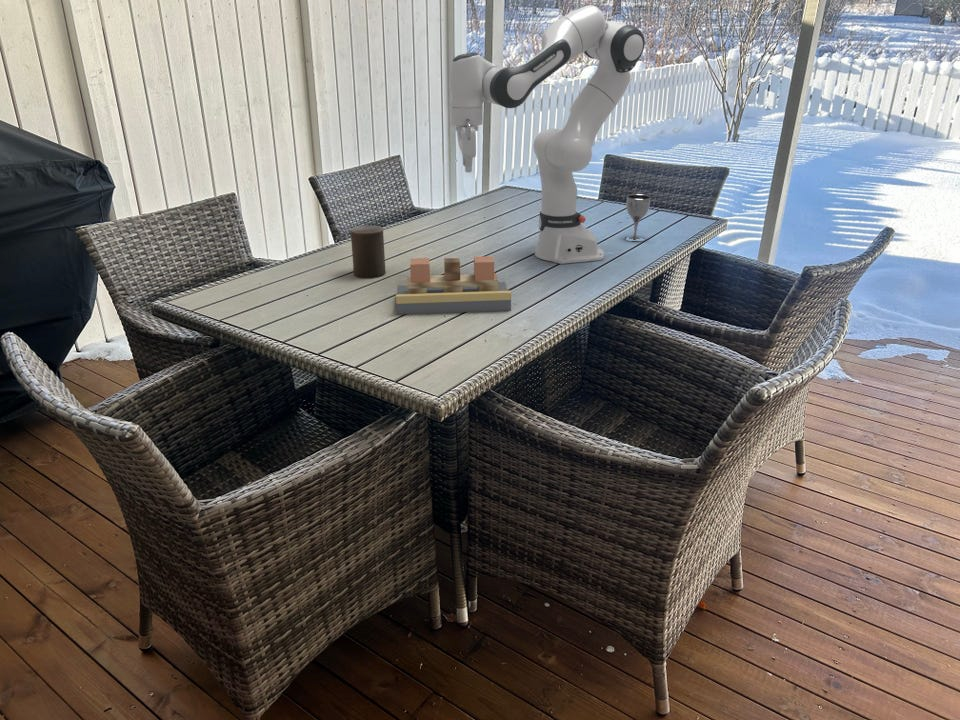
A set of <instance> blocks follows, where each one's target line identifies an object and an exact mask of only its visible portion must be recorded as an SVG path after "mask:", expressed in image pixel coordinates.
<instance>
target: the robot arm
mask: <svg viewBox="0 0 960 720" xmlns="http://www.w3.org/2000/svg"><path fill="white" fill-rule="evenodd" d="M540 41H541V42H540V44H541V45H540V46H541V49H542V50H541V51H540V52H538V53H537V54H536V55H534V56H533V57H531V59H529V60H528V61H526V62H525V63H524V64H521V65H518V66H498V65H497V64H495V63H492V62H490V61H488V60H487V59H485V58H484V57H483V56H482V55H480V53H478V52H469V53H468V52H467V53H462V54H459V55H456V56H455V57H454V58H453V59H452V61H451V66H450V72H449V74H450V77H449V88H450V89H449V90H450V95H451V101H450V125H451V126H455V131H456V135H457V144H458V148H459V149H460V153H461V155H462V166H463V167H464V171H465V173H472V172H473V158H476V157H477V137H476V136H477V133H476V132H478V131H479V126H481V125H483V123H484V122H483V121H484V119H483V116H484V115H483V113H484V112H483V106H484V105H483V104H484V102H486V103H489V104H494V105H498V106H501V107H503V108H507V109H515V108H518V107H520V106H522V105H523V103H525V101H526V100H527V98H528V97H529V95H530V94H531V93H532V91H533V90H534V89H535V88H537V86H538V85H540V84H541V83H542V82H544V81H545V80H546V79H548V78H549V77H551V75H553V74H554V73H556V72H557V71H558V70H560V69H561V68H562V67H563V66H565V65H566V64H568V63H569V62H571V61H572V60H574V59H576V58H577V57H579V56H580V55H582V54H584V55H585V56H587V57H588V58H590V59H595V60H596V61H598V65H597V68H596V71H595V73H594V74H593V75H592V77H591V78H589V80H588V81H587V83H586V84H585V85H584V87H583V88H582V89H581V91H580V92H579V94H578V95H577V96H576V98H575V99H574V101H573V103H571V106H570V108H569V116H568V118H567V121H566V123H565V125H564V127H563V128H562V129H558V128H549V129H544V130H542V131H540V132H539V133H538V134H536V136H535V137H534V141H533V145H532V146H533V151H534V154H535V157H536V159H537V164H538V171H539V176H540V183H541V202H540V203H541V204H540V205H541V206H540V207H541V210H540V211H539V217H538V228H539V229H538V230H539V234H538V240H537V245H536V249H535V252H534V256H535V257H536V258H538V259H541V260H544V261H547V262H552V263H553V262H554V263H557V264H561V265H562V264H563V265H564V264H572V263H574V264H575V263H584V262H594V261H602V260H604V258H605V253H604V251H603V250H602V249H601V248H600V247H598V240H597V238H596V236H595V235H594V233H593V232H591V230H589V229H588V228H587V227H585V226H584V225H583V223H585V222H586V220H587V219H586V217H585V216H584V215H582V214H581V213H579V212H578V211H577V200H578V187H577V186H578V185H577V183H576V182H575V178H574V175H573V174H574V172H580V171H582V170H583V169H585V168H587V166H588V165H589V164H590V161H591V160H592V154H593V150H592V148H593V145H594V142H595V139H596V137H597V135H598V133H599V131H600V129H601V128H602V126H603V124H604V123H605V122H606V121H607V120H608V118H609V116H610V115H611V113H612V112H613V110H614V109H616V106H617V105H618V103H619V101H620V100H621V99H622V97H623V95H624V94H625V92H626V91H627V89H628V86H629V84H630V82H631V77H632V73H631V72H630V71H631V70H633V69H634V68H635V66H636V65H637V63H638V62H639V60H640V58H641V57H642V55H643V53H644V50H645V43H646V41H645V36H644V33H643V32H642V30H640V29H639V28H637V27H635V26H634V25H632V24H627V23H623V22H621V21H620V22H619V21H616V20H613V21H611V20H606V18H605V15H604V13H603V12H602V10H601V9H600V8H599V7H598V6H595V5H592V4H591V5H585V6H582V7H579V8H577V9H575V10H573V11H571V12H568V13H567V14H565V15H563V16H562V17H560V18H558V19H557V20H555V21H554V22H552V24H550V25H549V26H548V27H547V28H546V29H545V30H544V31H543V33H542V36H541V40H540Z"/></svg>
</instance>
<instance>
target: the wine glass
mask: <svg viewBox="0 0 960 720" xmlns="http://www.w3.org/2000/svg"><path fill="white" fill-rule="evenodd" d="M651 199H652V197H651V196H650V195H648V194H644V193H643V194H642V193H641V194H640V193H633V194H628V195H626V210H627V211H626V212H627V214H628V215H629V217H630V218H631V220H632V222H633V227H634V228H633V229H634V230H633V231H634V232H633V235H631V237H629V236H628V237H629V239H633V240H636V239H640V237H641V236H637V231H638V225H639V223H640V222H641V220H642V219H643V218H644V217H645V216H646V215H647V214H648V211H649V209H650V204H651Z"/></svg>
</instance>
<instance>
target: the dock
mask: <svg viewBox="0 0 960 720" xmlns="http://www.w3.org/2000/svg"><path fill="white" fill-rule="evenodd" d="M395 303H396V304H395V306H396V315H420V314H445V313H446V314H447V313H449V314H451V313H452V314H453V313H472V312H473V313H474V312H475V313H476V312H477V313H478V312H503V311H505V312H506V310H507V311H512V291H511V290H508V287H507V285H506V282H505V281H498V291H485V292H479V291H478V286H470V287H463V292H455V293H444V292H443V287H440V288H427V293H426V294H408V286H407V284H401V285H397V288H396V294H395Z"/></svg>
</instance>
